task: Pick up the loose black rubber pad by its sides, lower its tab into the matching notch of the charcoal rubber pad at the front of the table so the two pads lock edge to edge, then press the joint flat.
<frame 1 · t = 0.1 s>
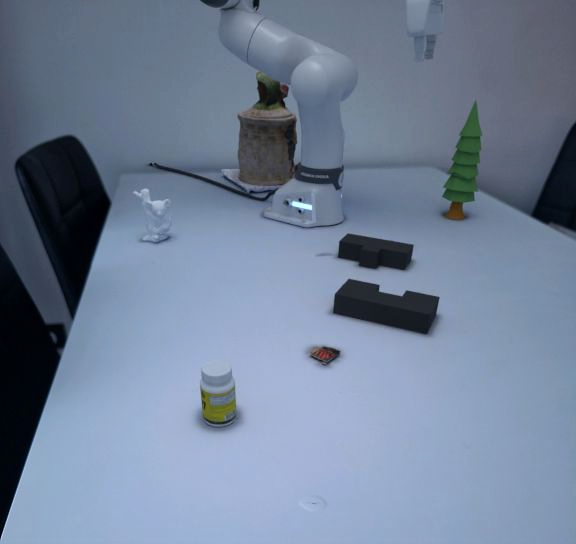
hand: (424, 60, 118), 39 cm above the table, tool pointing down, fingers open, 8 cm apart
cookie jar: (267, 182, 179), on the table
black pad: (374, 259, 124), on the table
matchbox: (323, 355, 89), on the table
koala figurine: (157, 240, 132), on the table
supplement bottle: (219, 418, 75), on the table
charcoal pad: (384, 314, 101), on the table
decorative tree: (455, 216, 153), on the table
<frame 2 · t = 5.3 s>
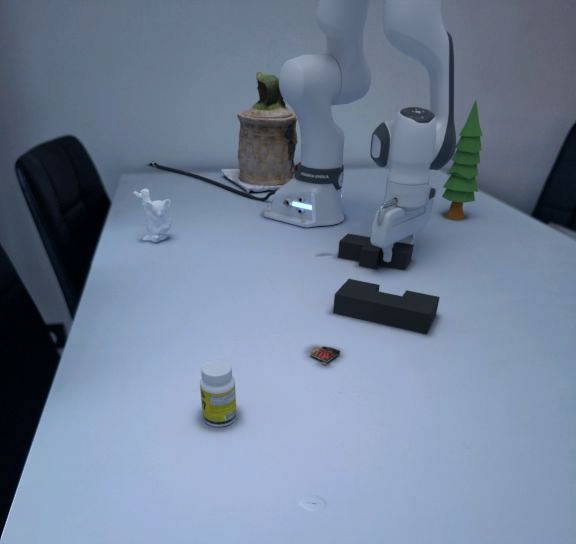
hand: (397, 255, 122), 2 cm above the table, tool pointing down, fingers closed on black pad, 6 cm apart
black pad: (374, 259, 124), on the table, touching gripper
everything else where it was.
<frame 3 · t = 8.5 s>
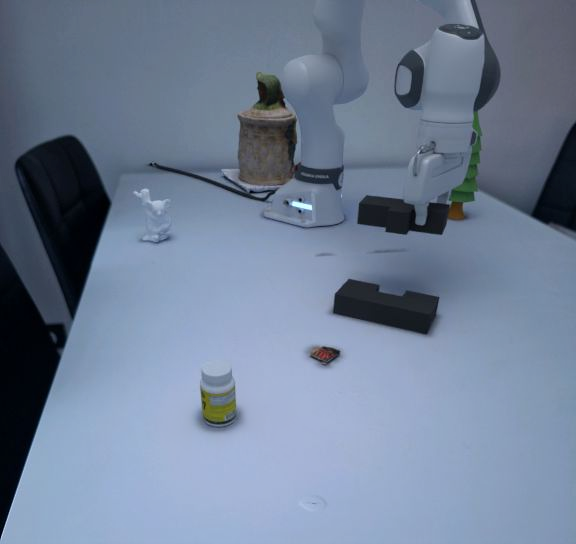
hand: (430, 218, 99), 16 cm above the table, tool pointing down, fingers closed on black pad, 6 cm apart
black pad: (401, 224, 102), point 14 cm above the table, touching gripper
everything else where it was.
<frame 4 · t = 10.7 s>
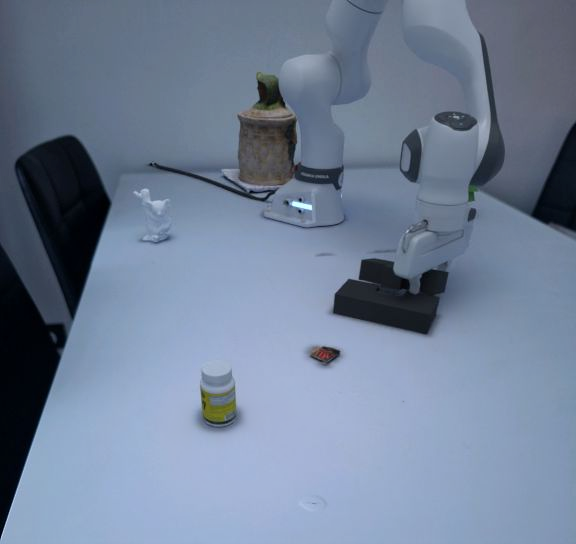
hand: (426, 286, 103), 4 cm above the table, tool pointing down, fingers closed on black pad, 7 cm apart
black pad: (400, 286, 106), point 3 cm above the table, tilted 15°, touching charcoal pad, gripper
everything else where it was.
when the fingers open (4 cm above the table, at t = 12.1 s): black pad stays where it is, resting on charcoal pad.
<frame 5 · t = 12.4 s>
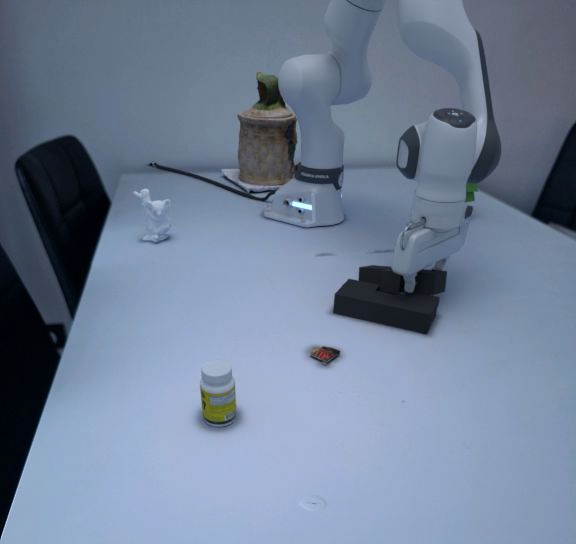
hand: (423, 283, 103), 4 cm above the table, tool pointing down, fingers open, 8 cm apart
black pad: (400, 289, 106), point 2 cm above the table, tilted 17°, touching charcoal pad
everything else where it was.
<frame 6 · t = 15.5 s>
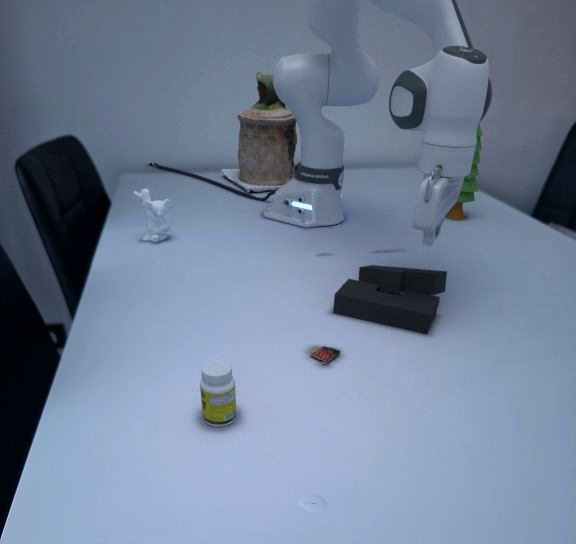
hand: (430, 240, 98), 13 cm above the table, tool pointing down, fingers open, 3 cm apart
nothing on the table moved.
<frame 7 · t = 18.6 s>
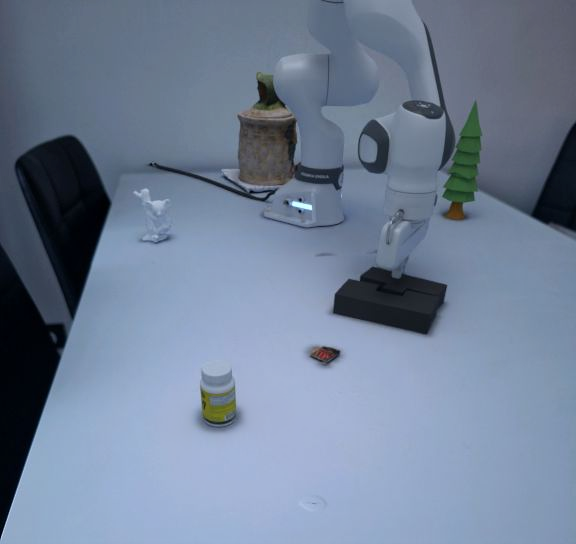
hand: (398, 275, 104), 5 cm above the table, tool pointing down, fingers closed
black pad: (400, 298, 107), on the table
everything else where it was.
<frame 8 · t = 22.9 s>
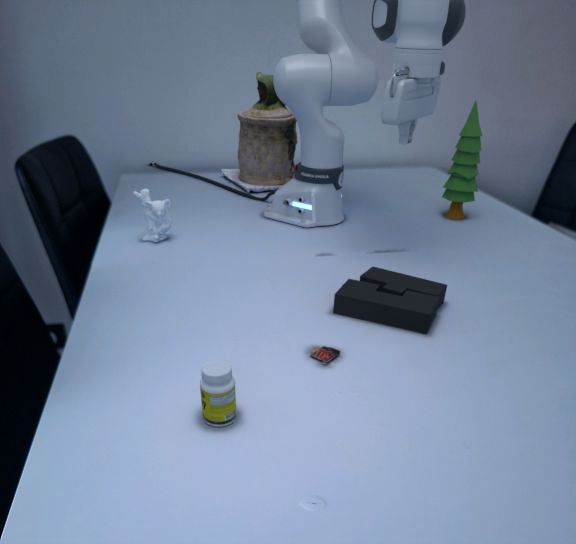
hand: (405, 143, 110), 25 cm above the table, tool pointing down, fingers closed
nothing on the table moved.
at the end: black pad 1.3 cm from the target spot on the table beside the charcoal pad, on the table; black pad tilted 0° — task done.
